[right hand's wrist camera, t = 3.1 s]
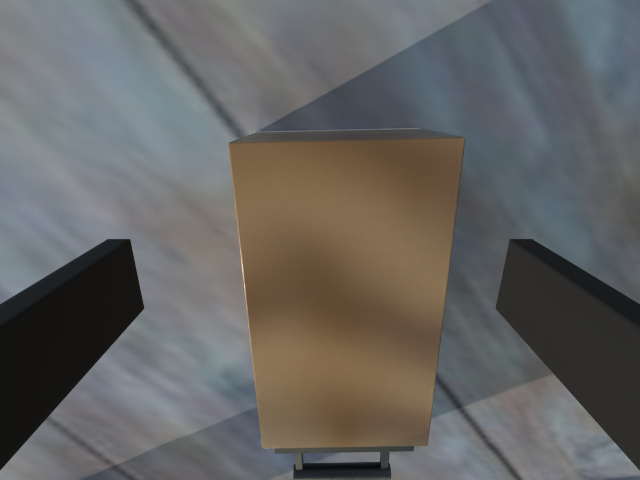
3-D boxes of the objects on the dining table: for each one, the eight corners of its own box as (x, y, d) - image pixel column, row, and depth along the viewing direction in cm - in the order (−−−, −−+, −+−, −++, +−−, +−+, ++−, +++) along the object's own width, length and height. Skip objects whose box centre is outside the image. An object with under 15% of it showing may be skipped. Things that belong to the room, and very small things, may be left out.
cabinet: (400, 361, 31) (427, 446, 23) (276, 363, 31) (262, 449, 23) (418, 127, 24) (466, 137, 16) (257, 131, 24) (227, 142, 16)
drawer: (391, 432, 33) (407, 506, 27) (286, 434, 33) (279, 508, 27) (410, 172, 24) (440, 193, 18) (267, 175, 24) (250, 197, 18)
